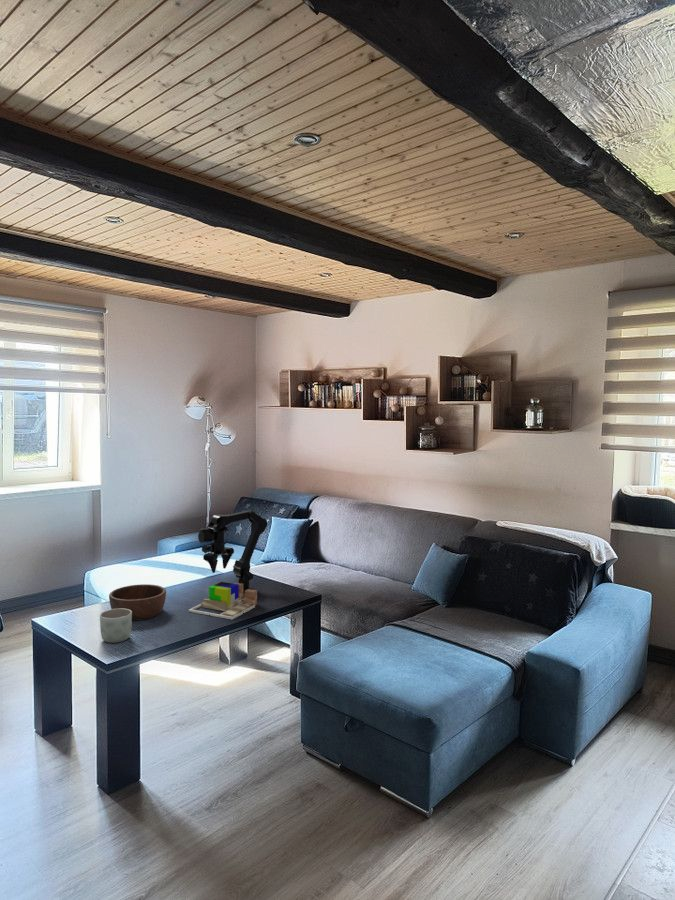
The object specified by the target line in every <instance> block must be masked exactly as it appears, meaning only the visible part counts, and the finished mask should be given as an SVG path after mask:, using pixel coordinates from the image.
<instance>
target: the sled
mask: <svg viewBox="0 0 675 900" xmlns="http://www.w3.org/2000/svg"><path fill="white" fill-rule="evenodd" d="M233 584H239V601H237V602H235V603H233V604H231V605H229V606H227V602H222V601H216V600H210V599H209V598H203V599H202V602H201V603H200V604H201V607H200V608H206V609H211V610H217V611H223V612H225V611H227V610H229V609H231V608H233V607H235V606H237V605H238V604H240V603H243V604H245V597H244V592H243V584H241V583H239V582H233Z"/></svg>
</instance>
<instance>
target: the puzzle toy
mask: <svg viewBox="0 0 675 900" xmlns="http://www.w3.org/2000/svg"><path fill="white" fill-rule="evenodd" d="M233 583H234V582H233ZM233 583H231V582H225V581H220V582H218V583H215V584H213V585H211V586H209V587H208V599H210V600H216V601H222V602H227V606H229V605H231V604H233V603H235V602H237V601H239V584H233Z"/></svg>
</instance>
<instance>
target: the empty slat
mask: <svg viewBox="0 0 675 900" xmlns="http://www.w3.org/2000/svg"><path fill="white" fill-rule="evenodd" d="M244 598H245V603H243V604H240V605H238V606H236V607H234V608H232V609H230V610H229V611H227V612H225V611H224V612H225V613H223V612H222V613H223V615H225V616H231V617H233V616H235V615H236V614H238V613H240V612H242V611H244V610H246V609H247V608H249V607H251V606H253V605H255V606H257V605H258V590H256V589H252V590H250V589H247V590H245V592H244Z"/></svg>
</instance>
